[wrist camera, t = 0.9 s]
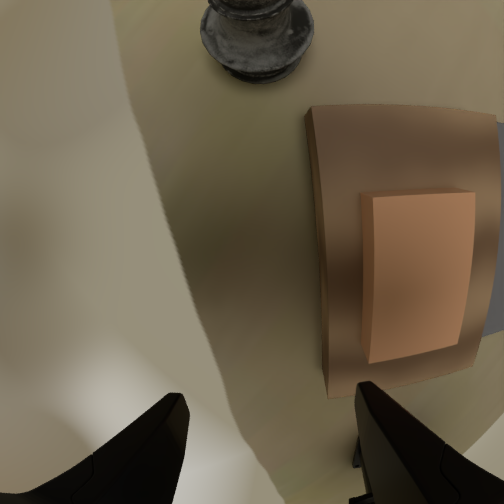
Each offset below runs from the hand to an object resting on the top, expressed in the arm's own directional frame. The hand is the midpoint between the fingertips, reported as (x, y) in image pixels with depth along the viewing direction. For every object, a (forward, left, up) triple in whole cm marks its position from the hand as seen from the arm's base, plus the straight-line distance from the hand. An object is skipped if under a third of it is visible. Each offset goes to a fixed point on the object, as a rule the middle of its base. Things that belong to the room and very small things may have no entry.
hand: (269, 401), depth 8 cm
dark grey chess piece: (+14, -1, -12) cm, 19 cm away
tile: (0, -8, -8) cm, 12 cm away
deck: (0, -9, -12) cm, 15 cm away
